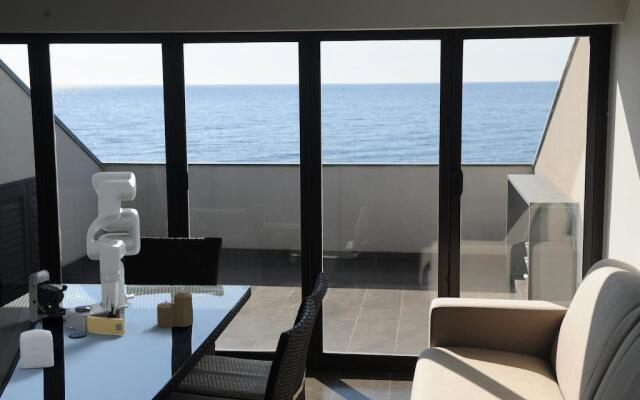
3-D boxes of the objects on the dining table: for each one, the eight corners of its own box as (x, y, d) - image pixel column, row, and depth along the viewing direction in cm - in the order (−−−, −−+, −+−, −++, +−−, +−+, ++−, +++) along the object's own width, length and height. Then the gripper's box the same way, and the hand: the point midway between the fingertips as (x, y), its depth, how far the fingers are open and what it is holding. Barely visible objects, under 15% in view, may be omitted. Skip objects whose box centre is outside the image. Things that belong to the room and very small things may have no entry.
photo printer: (19, 369, 256) (18, 332, 255) (22, 365, 261) (20, 329, 259) (52, 367, 258) (51, 331, 257) (54, 363, 262) (53, 327, 261)
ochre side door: (124, 334, 296) (124, 317, 295) (121, 336, 294) (120, 319, 293) (86, 331, 300) (86, 314, 300) (83, 333, 298) (82, 316, 297)
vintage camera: (63, 325, 312) (64, 275, 310) (28, 322, 315) (28, 272, 313) (76, 319, 321) (76, 271, 319) (41, 316, 324) (41, 268, 322)
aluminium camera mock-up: (105, 317, 322) (104, 298, 321) (124, 322, 314) (124, 303, 313) (66, 326, 309) (65, 307, 308) (85, 332, 300) (85, 312, 299)
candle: (200, 321, 316) (199, 284, 315) (184, 329, 304) (183, 291, 302) (170, 318, 321) (169, 282, 319) (152, 326, 308) (151, 289, 306)
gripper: (104, 272, 304) (105, 318, 306) (96, 281, 289) (98, 329, 292) (124, 271, 305) (125, 318, 307) (117, 280, 290) (119, 329, 292)
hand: (112, 323), depth 299 cm, fingers closed
